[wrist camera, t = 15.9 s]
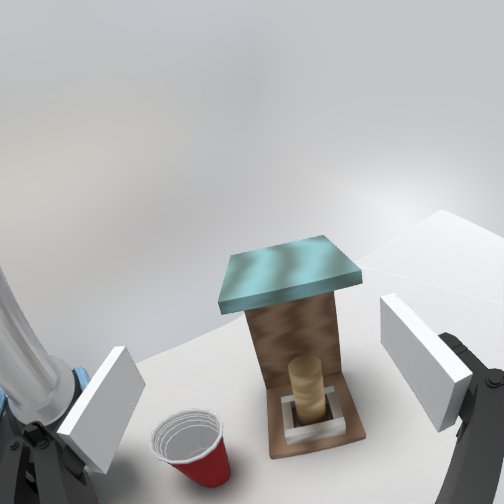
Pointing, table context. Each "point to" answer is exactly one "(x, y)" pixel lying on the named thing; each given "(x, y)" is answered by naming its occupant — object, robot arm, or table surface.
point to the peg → (308, 389)
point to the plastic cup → (193, 445)
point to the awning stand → (296, 334)
